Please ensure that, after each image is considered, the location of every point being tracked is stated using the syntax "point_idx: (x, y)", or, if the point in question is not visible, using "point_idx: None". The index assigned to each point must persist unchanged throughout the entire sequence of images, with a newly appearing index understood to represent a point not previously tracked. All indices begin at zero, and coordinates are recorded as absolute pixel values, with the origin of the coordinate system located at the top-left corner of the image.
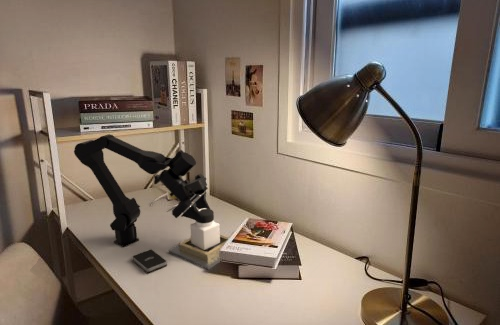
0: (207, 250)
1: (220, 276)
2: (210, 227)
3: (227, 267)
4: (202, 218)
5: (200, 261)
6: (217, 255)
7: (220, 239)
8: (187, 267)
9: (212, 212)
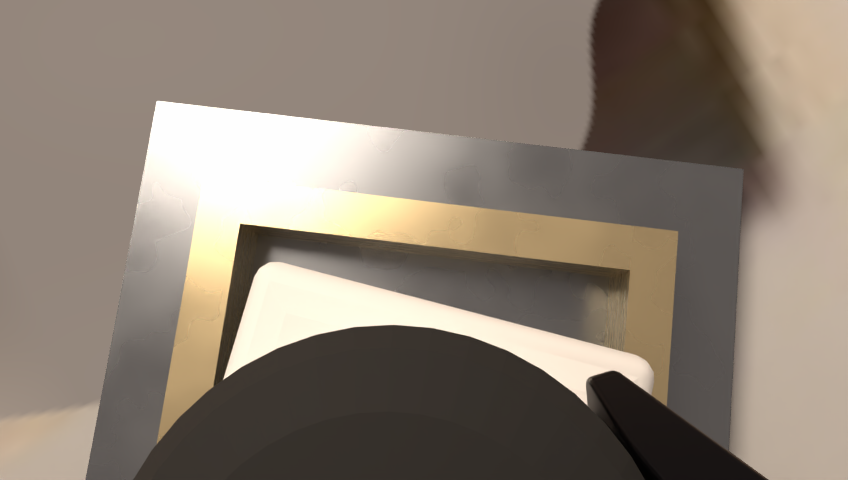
0: None
1: (758, 19)
2: (478, 325)
3: (603, 42)
4: (709, 442)
5: (705, 301)
6: (515, 210)
7: (230, 351)
8: (807, 388)
9: (312, 354)
